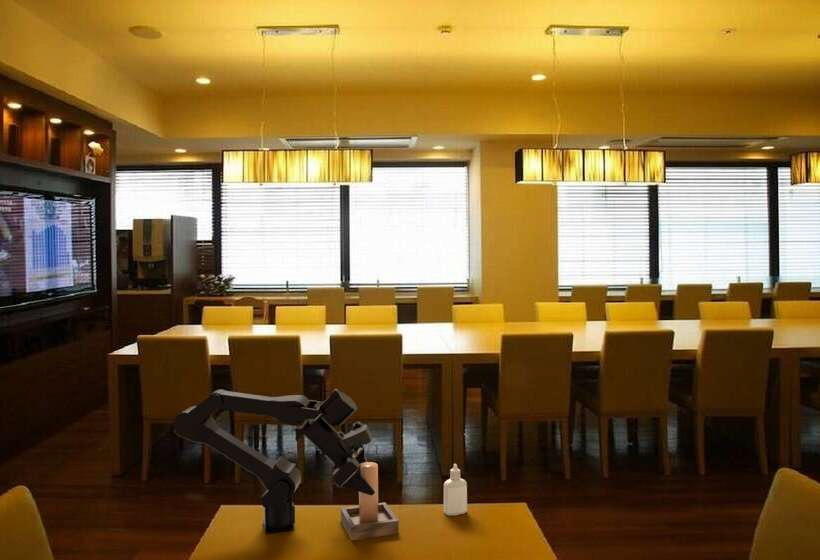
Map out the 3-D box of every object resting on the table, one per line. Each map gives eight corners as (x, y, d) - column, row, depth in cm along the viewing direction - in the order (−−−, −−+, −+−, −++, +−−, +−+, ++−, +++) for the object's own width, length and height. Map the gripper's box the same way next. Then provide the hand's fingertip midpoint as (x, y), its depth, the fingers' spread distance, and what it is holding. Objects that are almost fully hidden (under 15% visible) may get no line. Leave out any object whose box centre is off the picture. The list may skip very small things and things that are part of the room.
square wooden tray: (351, 540, 140) (351, 527, 140) (340, 520, 151) (340, 508, 151) (398, 533, 144) (398, 520, 144) (385, 514, 154) (385, 502, 154)
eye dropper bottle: (466, 517, 153) (466, 467, 152) (443, 515, 153) (442, 466, 153) (467, 509, 157) (467, 461, 156) (444, 508, 158) (444, 460, 157)
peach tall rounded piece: (361, 525, 145) (361, 469, 144) (357, 518, 149) (356, 463, 148) (380, 522, 146) (379, 467, 145) (375, 515, 150) (375, 461, 150)
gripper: (347, 426, 137) (398, 476, 137) (354, 405, 155) (399, 449, 156) (310, 462, 137) (362, 512, 138) (322, 437, 156) (368, 481, 156)
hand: (374, 486), depth 147 cm, fingers open, 9 cm apart
